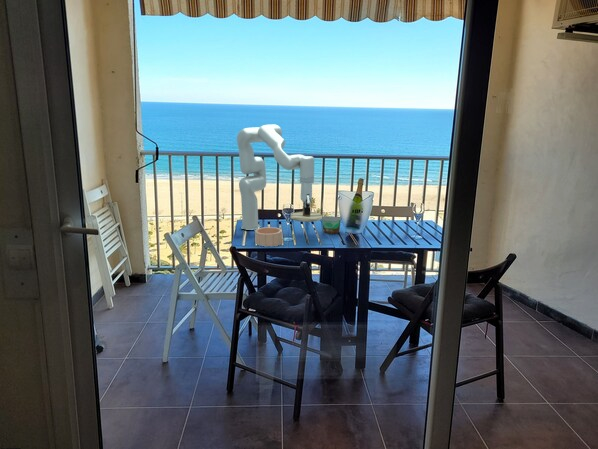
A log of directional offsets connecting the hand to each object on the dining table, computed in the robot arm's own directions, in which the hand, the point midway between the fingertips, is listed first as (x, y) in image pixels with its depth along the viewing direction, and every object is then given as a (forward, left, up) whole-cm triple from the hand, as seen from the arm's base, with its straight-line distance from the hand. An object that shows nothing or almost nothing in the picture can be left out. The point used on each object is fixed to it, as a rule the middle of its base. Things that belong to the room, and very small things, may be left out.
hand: (306, 213), depth 237 cm
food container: (-14, +16, -16) cm, 27 cm away
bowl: (0, -21, -16) cm, 26 cm away
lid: (0, 0, -2) cm, 2 cm away
